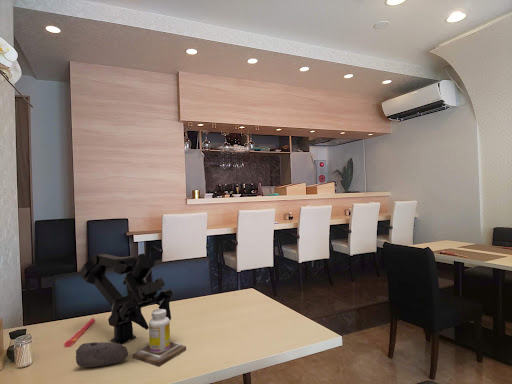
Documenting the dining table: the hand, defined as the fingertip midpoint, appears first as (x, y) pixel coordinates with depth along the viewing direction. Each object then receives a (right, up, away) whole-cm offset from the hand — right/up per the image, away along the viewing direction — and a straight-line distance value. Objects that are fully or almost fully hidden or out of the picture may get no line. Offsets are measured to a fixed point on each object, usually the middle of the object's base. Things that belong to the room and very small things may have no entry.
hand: (159, 324), depth 107 cm
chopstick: (-37, -12, +19) cm, 43 cm away
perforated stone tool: (-16, -10, -6) cm, 20 cm away
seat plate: (0, -10, 0) cm, 10 cm away
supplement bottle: (0, -9, 0) cm, 9 cm away
